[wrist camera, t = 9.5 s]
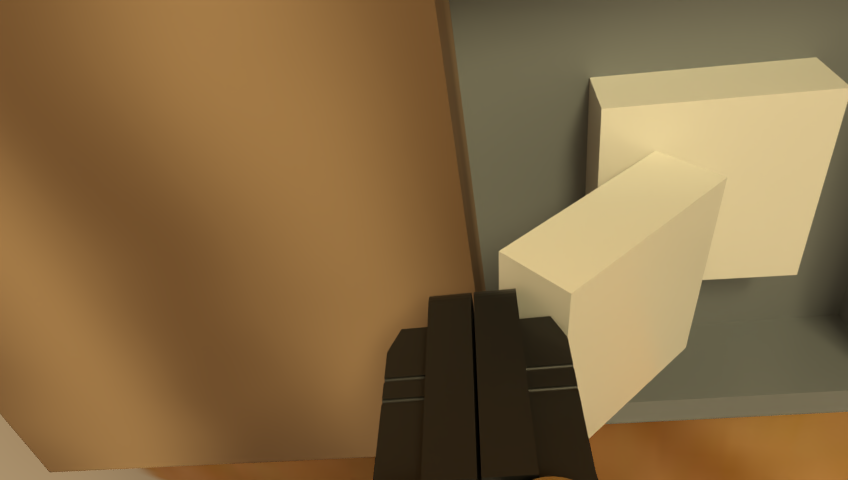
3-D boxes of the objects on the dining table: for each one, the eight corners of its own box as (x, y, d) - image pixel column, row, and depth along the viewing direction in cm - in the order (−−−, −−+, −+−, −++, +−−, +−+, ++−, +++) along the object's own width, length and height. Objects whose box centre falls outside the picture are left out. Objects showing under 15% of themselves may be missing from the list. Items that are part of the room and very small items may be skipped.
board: (433, -130, 12) (422, -86, 9) (492, 333, 19) (497, 451, 16) (-136, -34, 13) (-323, 32, 10) (114, 360, 20) (49, 471, 17)
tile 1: (655, 150, 13) (727, 177, 12) (628, 315, 16) (685, 347, 15) (498, 251, 11) (571, 293, 10) (499, 423, 13) (556, 469, 12)
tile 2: (601, 108, 12) (589, 77, 14) (592, 285, 15) (583, 247, 16) (851, 87, 12) (816, 56, 13) (796, 274, 15) (771, 235, 16)
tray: (1052, -269, 10) (1231, -277, 8) (854, 321, 18) (914, 408, 15) (430, -161, 12) (420, -139, 9) (493, 345, 19) (497, 429, 17)
